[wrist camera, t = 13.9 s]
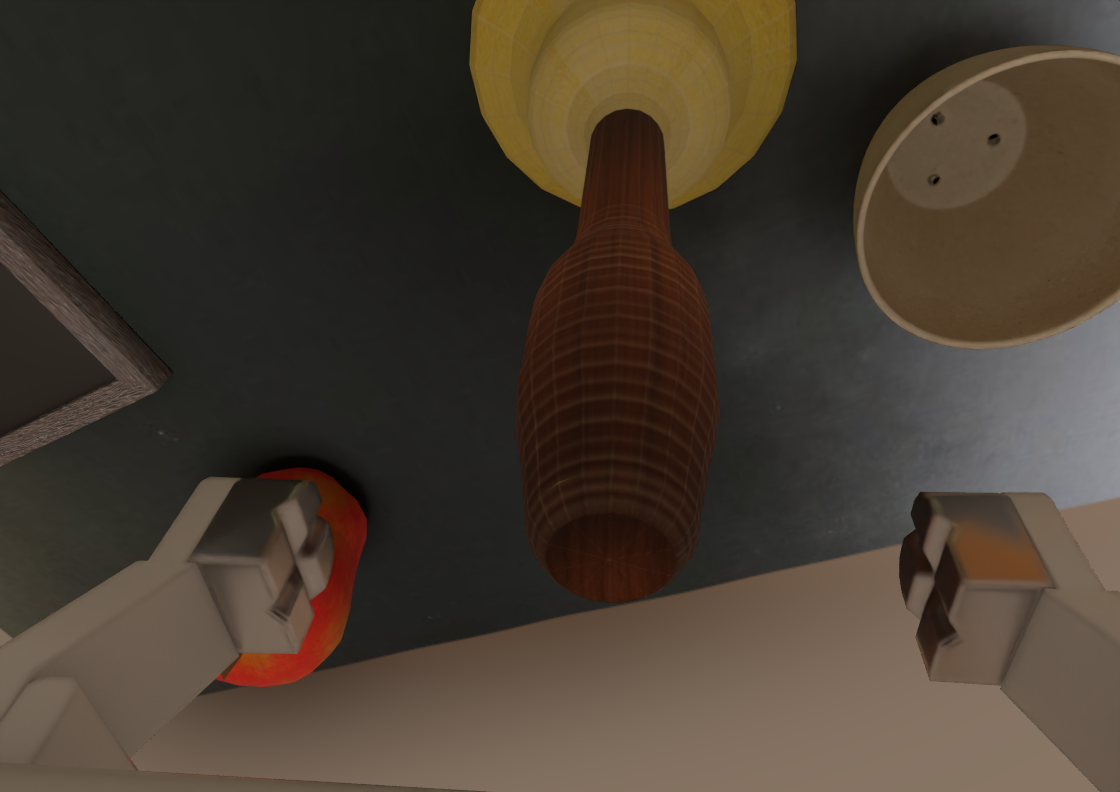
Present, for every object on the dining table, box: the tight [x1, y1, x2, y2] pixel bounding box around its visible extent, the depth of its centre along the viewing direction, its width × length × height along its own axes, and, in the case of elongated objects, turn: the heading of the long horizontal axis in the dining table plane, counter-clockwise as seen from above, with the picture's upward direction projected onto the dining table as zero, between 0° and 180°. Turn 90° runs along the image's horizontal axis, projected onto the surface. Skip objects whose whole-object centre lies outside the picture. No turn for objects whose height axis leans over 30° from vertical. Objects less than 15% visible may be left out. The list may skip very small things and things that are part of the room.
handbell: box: [469, 0, 797, 603], centre depth 21 cm, size 12×12×25 cm
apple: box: [215, 467, 367, 687], centre depth 41 cm, size 9×8×12 cm
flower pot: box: [853, 45, 1120, 349], centre depth 29 cm, size 10×10×7 cm
